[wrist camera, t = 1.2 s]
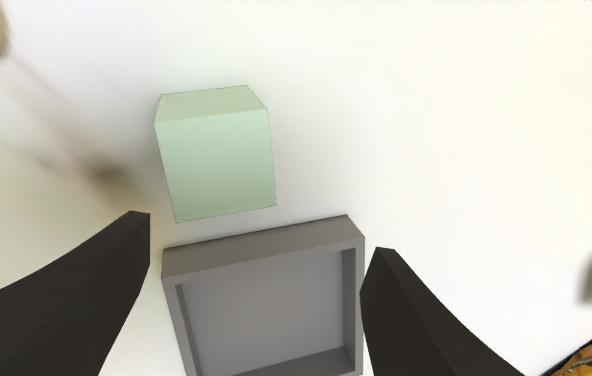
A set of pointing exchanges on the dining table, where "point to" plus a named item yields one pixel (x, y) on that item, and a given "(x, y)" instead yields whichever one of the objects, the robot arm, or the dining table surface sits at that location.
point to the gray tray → (270, 301)
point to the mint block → (215, 152)
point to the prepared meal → (578, 364)
